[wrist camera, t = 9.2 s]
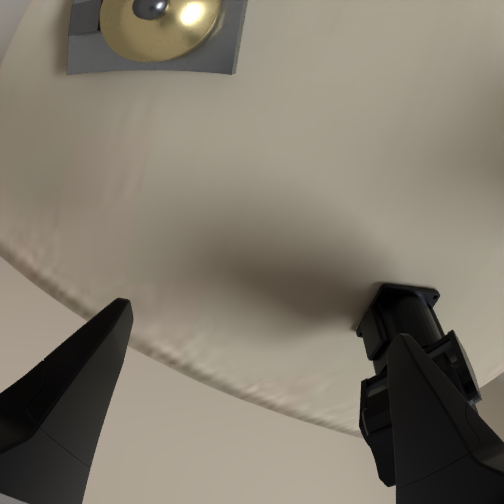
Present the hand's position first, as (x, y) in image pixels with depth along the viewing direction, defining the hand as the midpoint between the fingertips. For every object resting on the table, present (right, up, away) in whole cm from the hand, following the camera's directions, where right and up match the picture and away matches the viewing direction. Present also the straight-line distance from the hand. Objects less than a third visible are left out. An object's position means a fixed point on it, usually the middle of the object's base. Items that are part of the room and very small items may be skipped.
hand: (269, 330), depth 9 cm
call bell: (-6, +16, +3) cm, 17 cm away
